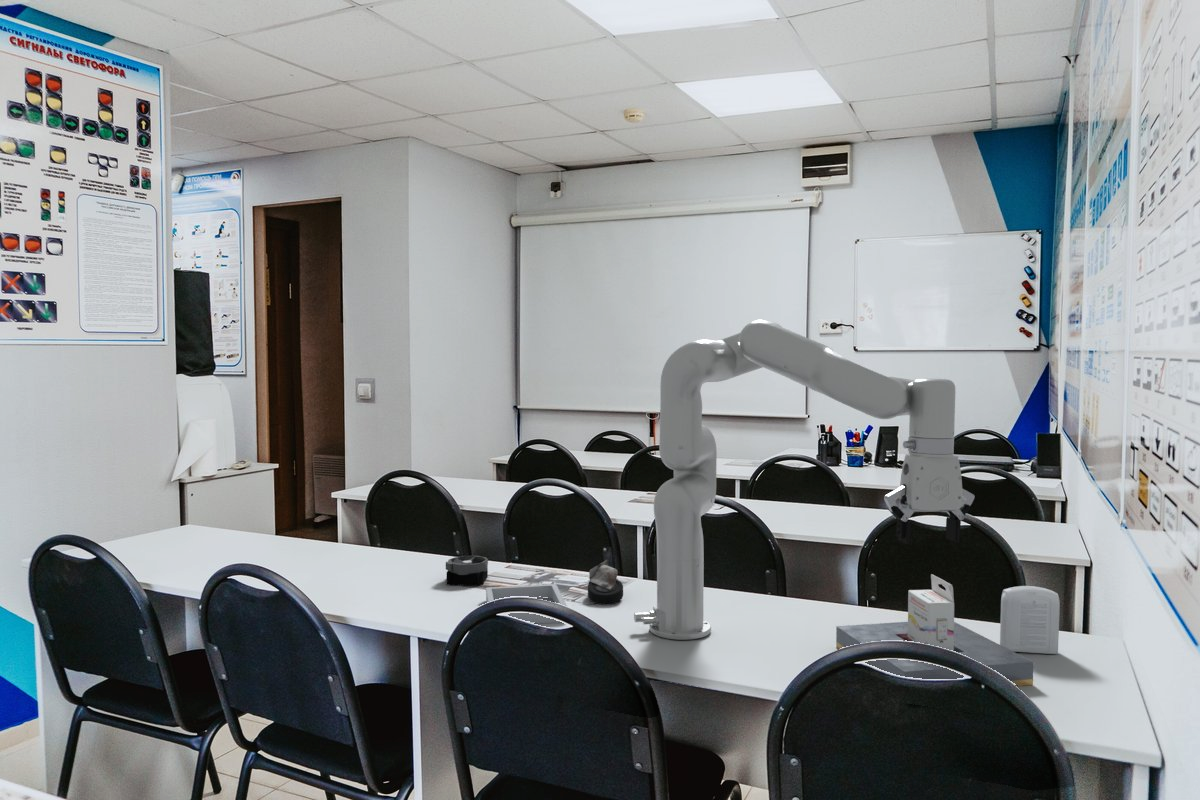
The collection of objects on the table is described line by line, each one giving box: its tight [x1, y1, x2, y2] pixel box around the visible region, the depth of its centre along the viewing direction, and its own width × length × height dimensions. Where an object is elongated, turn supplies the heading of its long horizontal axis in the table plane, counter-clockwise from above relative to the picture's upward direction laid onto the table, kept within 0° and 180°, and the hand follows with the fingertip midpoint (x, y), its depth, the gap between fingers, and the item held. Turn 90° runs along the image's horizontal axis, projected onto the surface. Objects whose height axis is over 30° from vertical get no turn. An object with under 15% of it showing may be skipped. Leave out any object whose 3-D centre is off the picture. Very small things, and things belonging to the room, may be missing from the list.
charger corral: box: [485, 583, 568, 624], centre depth 183 cm, size 16×19×3 cm
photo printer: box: [999, 585, 1061, 655], centre depth 156 cm, size 10×4×12 cm, turn 81°
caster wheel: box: [587, 559, 624, 605], centre depth 193 cm, size 7×11×10 cm
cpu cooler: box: [445, 555, 489, 587], centre depth 209 cm, size 10×6×10 cm
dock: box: [835, 621, 1034, 687], centre depth 149 cm, size 24×24×4 cm
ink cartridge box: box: [907, 573, 955, 651], centre depth 149 cm, size 9×5×15 cm, turn 5°
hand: (928, 541), depth 149 cm, fingers open, 9 cm apart
